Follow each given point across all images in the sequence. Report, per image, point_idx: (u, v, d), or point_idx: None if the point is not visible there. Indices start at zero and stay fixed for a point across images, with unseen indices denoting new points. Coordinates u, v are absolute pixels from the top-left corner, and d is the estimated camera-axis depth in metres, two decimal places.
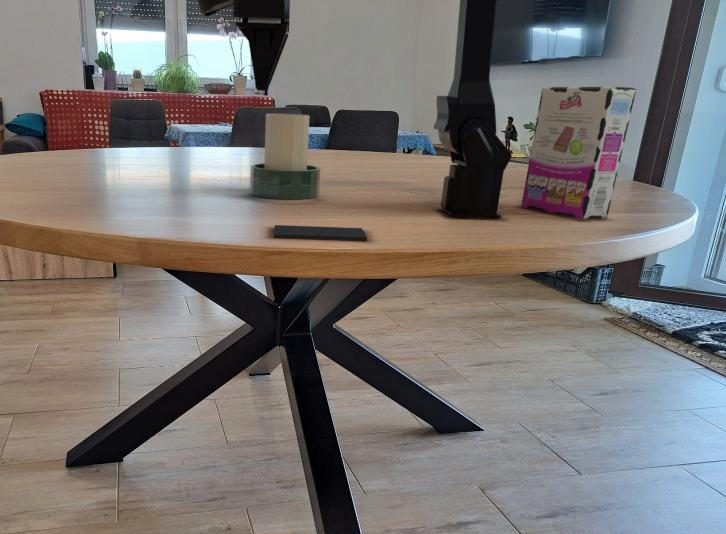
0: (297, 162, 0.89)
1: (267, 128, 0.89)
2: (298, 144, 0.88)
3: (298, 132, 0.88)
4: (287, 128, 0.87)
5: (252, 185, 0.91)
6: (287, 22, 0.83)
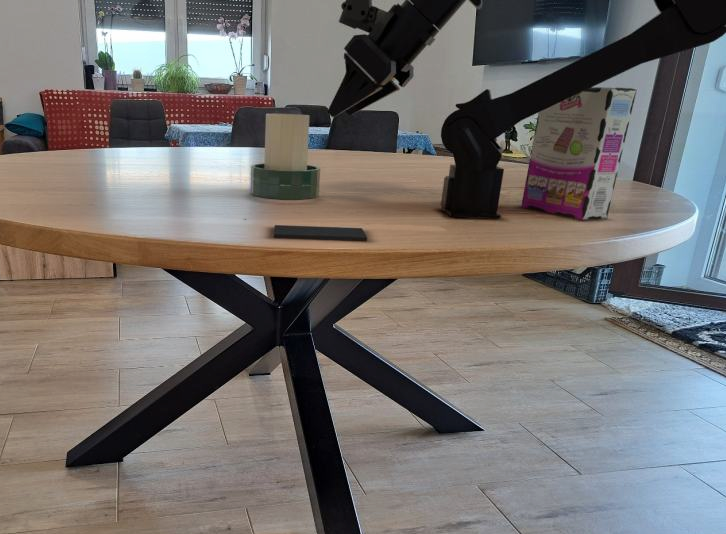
0: (297, 162, 0.89)
1: (267, 128, 0.89)
2: (298, 144, 0.88)
3: (298, 132, 0.88)
4: (287, 128, 0.87)
5: (252, 185, 0.91)
6: (403, 80, 0.88)
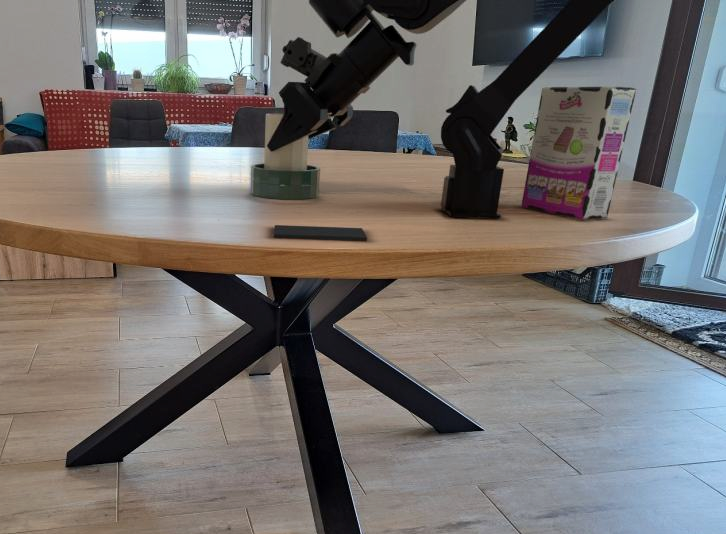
0: (297, 162, 0.89)
1: (267, 128, 0.89)
2: (298, 144, 0.88)
3: None
4: None
5: (252, 185, 0.91)
6: (341, 120, 0.92)
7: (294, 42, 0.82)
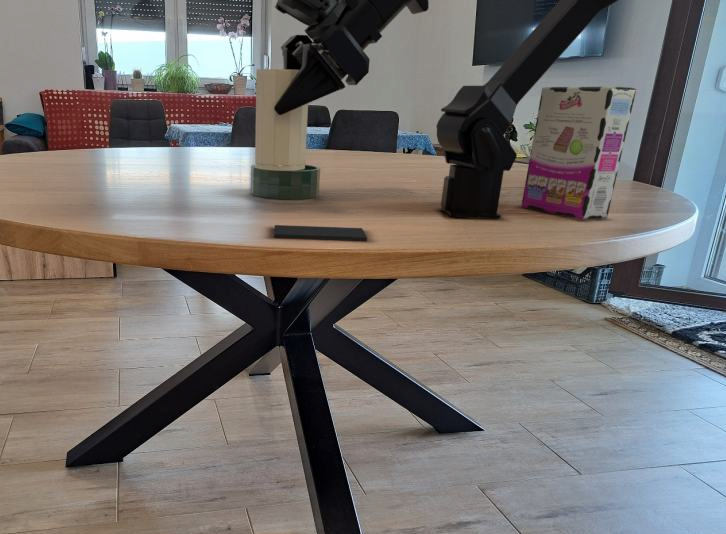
0: (304, 127, 0.75)
1: (267, 86, 0.72)
2: (305, 105, 0.74)
3: None
4: None
5: (252, 185, 0.91)
6: None
7: None
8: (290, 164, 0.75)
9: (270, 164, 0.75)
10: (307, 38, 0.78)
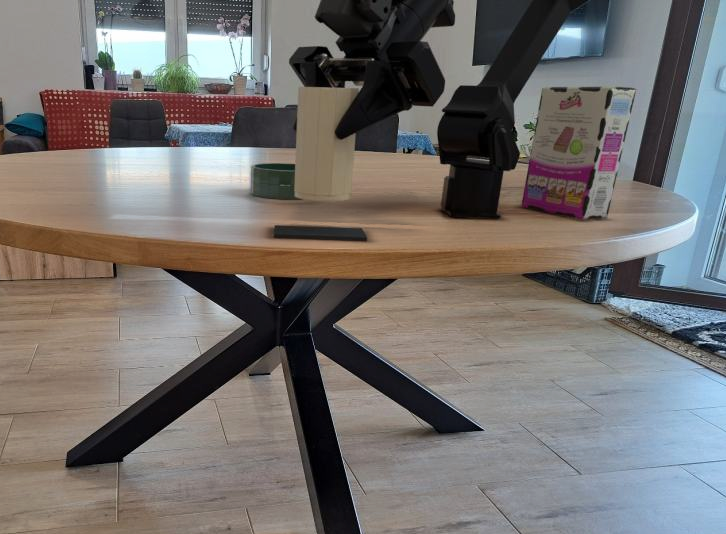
0: None
1: (324, 107, 0.63)
2: None
3: None
4: None
5: (252, 185, 0.91)
6: None
7: None
8: (345, 193, 0.67)
9: (326, 195, 0.66)
10: (326, 50, 0.70)
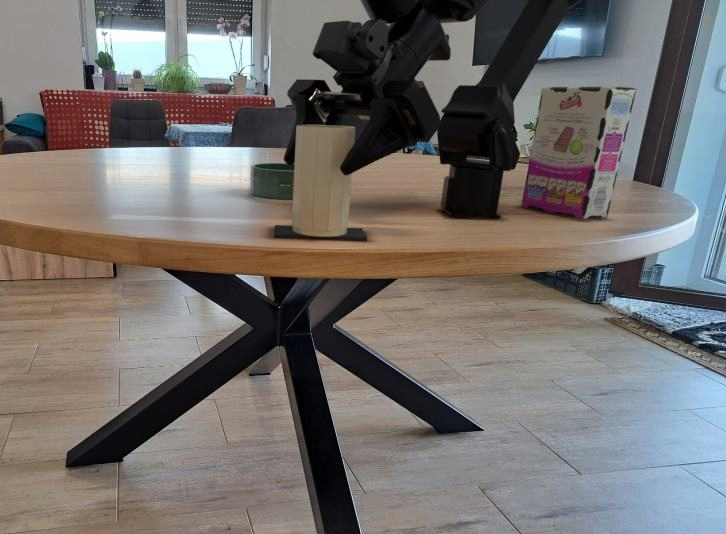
0: None
1: (322, 146, 0.64)
2: None
3: None
4: (350, 145, 0.65)
5: (252, 185, 0.91)
6: None
7: (376, 26, 0.61)
8: (342, 228, 0.68)
9: (323, 230, 0.67)
10: (324, 83, 0.71)
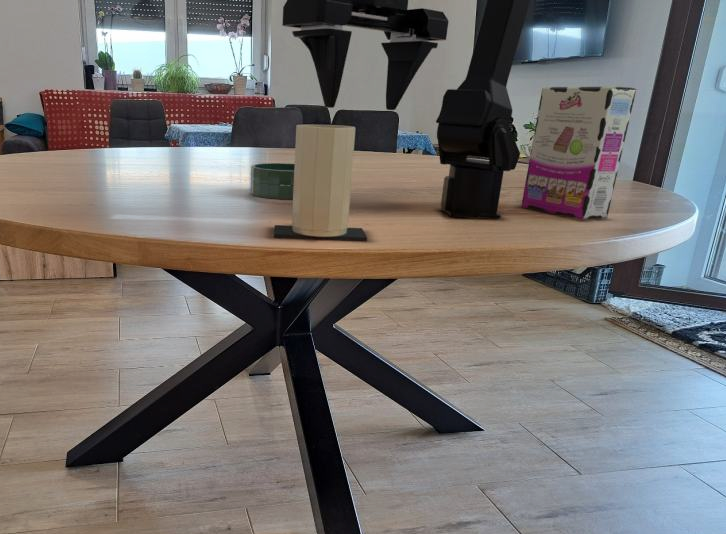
0: None
1: (322, 146, 0.64)
2: None
3: None
4: (350, 145, 0.65)
5: (252, 185, 0.91)
6: (425, 26, 0.67)
7: None
8: (342, 228, 0.68)
9: (323, 230, 0.67)
10: None
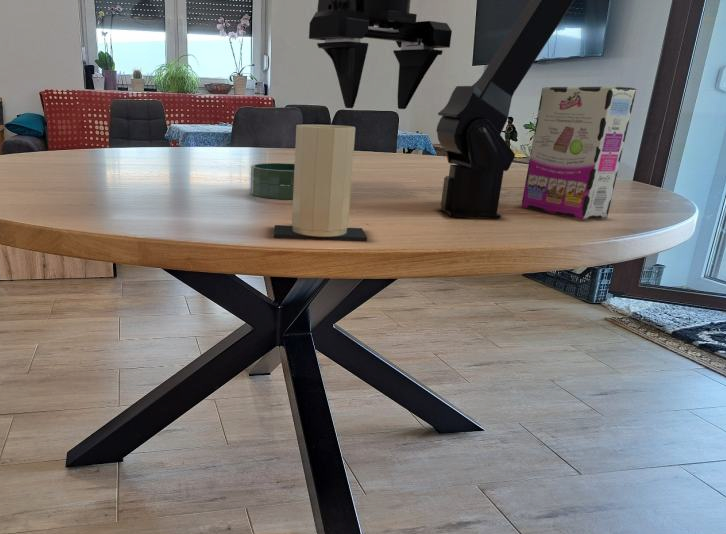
0: None
1: (322, 146, 0.64)
2: None
3: None
4: (350, 145, 0.65)
5: (252, 185, 0.91)
6: (431, 37, 0.77)
7: (319, 2, 0.78)
8: (342, 228, 0.68)
9: (323, 230, 0.67)
10: None
